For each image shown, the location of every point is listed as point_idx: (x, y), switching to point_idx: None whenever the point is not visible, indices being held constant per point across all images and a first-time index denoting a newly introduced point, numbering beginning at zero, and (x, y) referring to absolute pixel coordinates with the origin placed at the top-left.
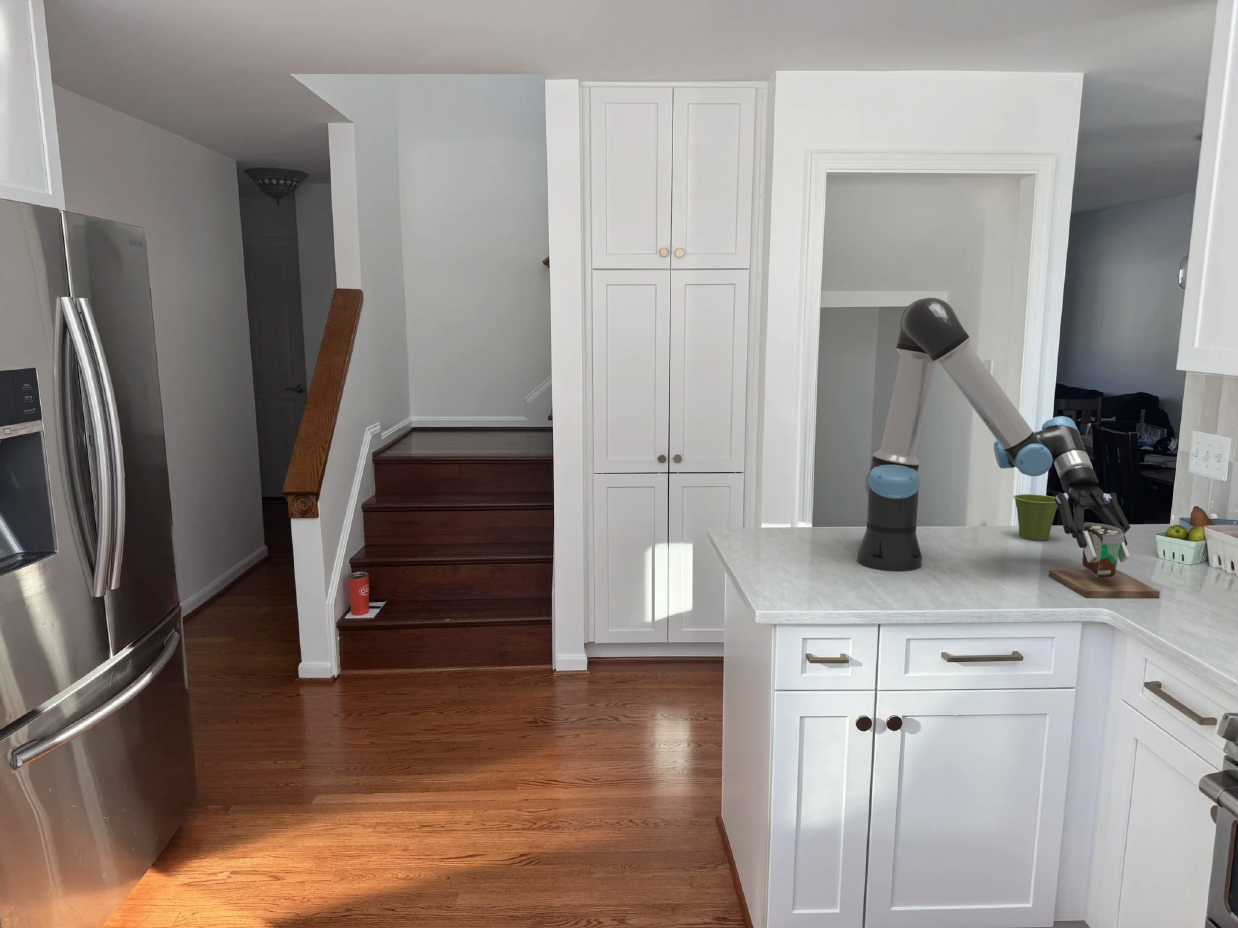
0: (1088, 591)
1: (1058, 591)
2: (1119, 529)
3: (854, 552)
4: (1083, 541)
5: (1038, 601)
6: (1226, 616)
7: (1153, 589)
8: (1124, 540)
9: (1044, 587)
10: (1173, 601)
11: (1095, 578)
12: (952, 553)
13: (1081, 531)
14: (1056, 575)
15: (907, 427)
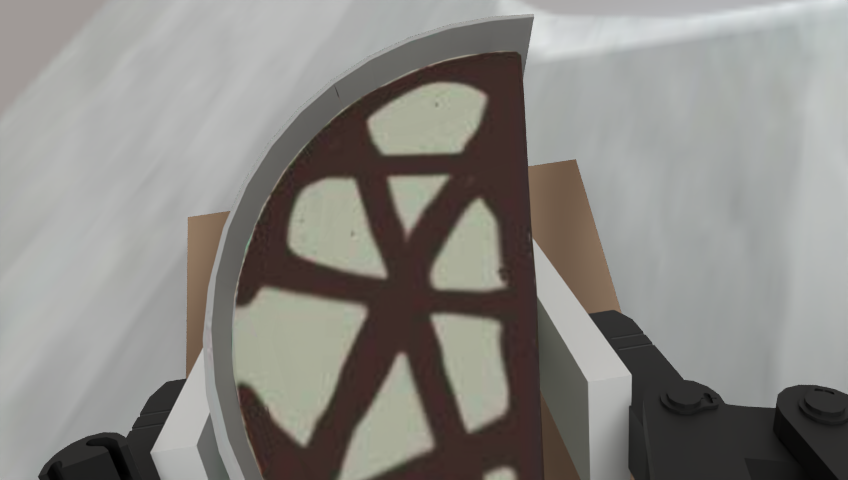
0: (563, 163)
1: (681, 257)
2: (216, 295)
3: None
4: (613, 330)
5: (798, 93)
6: (77, 42)
7: (204, 242)
8: (162, 412)
9: (747, 318)
10: (166, 190)
11: None
12: None
13: (660, 386)
14: None
15: None
